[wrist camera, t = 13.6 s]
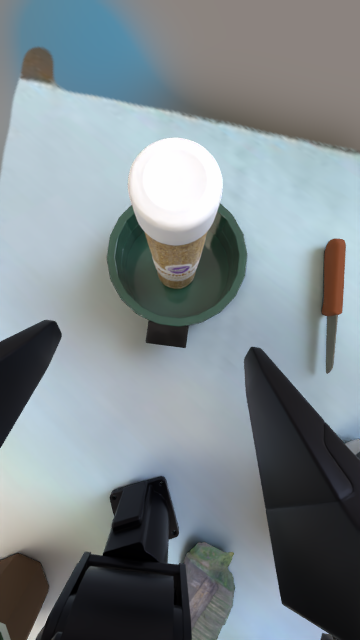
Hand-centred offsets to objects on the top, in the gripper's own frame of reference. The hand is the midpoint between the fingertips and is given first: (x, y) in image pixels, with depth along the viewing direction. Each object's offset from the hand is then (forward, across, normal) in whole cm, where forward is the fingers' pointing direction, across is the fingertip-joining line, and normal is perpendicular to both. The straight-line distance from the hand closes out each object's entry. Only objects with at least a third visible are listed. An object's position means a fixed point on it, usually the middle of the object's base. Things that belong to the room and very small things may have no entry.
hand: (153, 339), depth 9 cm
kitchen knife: (+14, -18, +6) cm, 24 cm away
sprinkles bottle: (+15, 0, +4) cm, 15 cm away
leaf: (-13, -6, +33) cm, 36 cm away
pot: (+15, 0, +4) cm, 16 cm away
